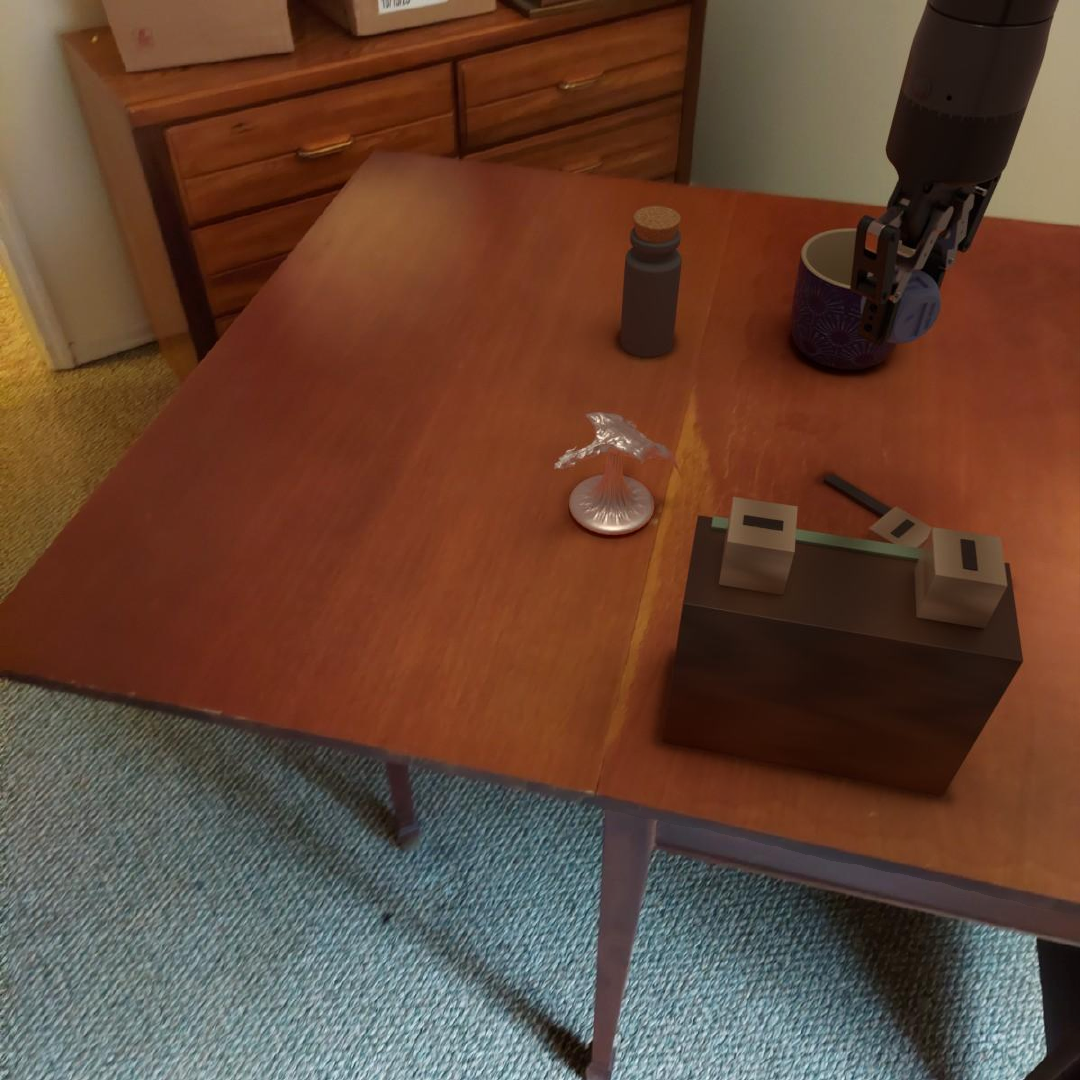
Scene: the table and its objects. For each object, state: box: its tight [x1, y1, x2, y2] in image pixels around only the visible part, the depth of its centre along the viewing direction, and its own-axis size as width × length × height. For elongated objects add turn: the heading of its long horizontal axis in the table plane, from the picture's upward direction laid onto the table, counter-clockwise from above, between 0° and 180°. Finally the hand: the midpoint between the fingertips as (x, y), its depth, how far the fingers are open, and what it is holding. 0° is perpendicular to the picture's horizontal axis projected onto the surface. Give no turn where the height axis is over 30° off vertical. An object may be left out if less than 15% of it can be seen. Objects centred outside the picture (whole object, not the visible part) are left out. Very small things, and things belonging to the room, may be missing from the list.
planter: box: [790, 227, 915, 371], centre depth 101 cm, size 12×12×11 cm
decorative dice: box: [861, 267, 942, 344], centre depth 70 cm, size 4×4×4 cm
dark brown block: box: [661, 496, 1024, 797], centre depth 64 cm, size 20×8×20 cm, turn 77°
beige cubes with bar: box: [823, 473, 933, 548], centre depth 83 cm, size 18×7×4 cm, turn 42°
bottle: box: [619, 205, 683, 359], centre depth 100 cm, size 6×6×15 cm
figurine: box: [553, 411, 683, 536], centre depth 84 cm, size 8×12×10 cm, turn 126°
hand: (895, 323), depth 71 cm, fingers closed on decorative dice, 5 cm apart
